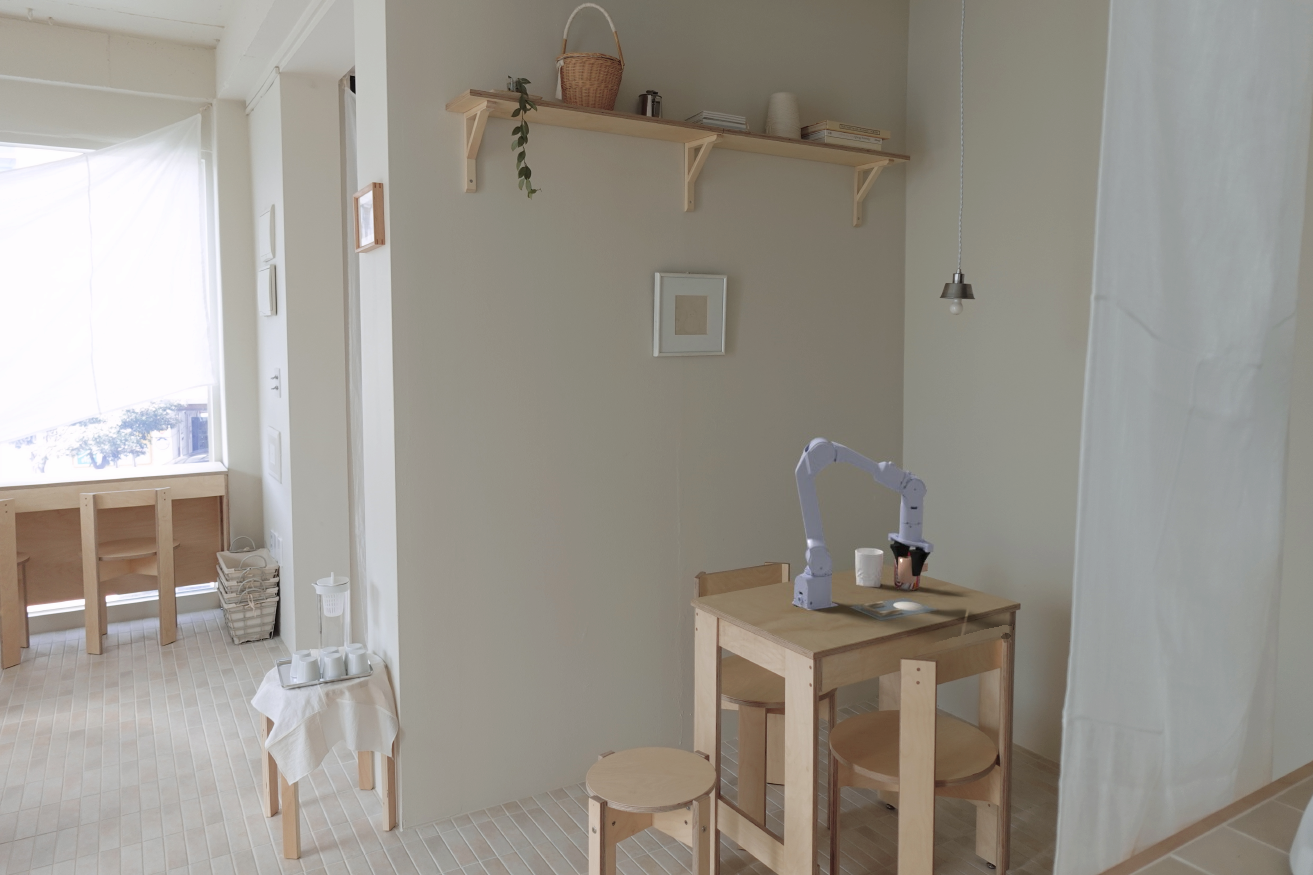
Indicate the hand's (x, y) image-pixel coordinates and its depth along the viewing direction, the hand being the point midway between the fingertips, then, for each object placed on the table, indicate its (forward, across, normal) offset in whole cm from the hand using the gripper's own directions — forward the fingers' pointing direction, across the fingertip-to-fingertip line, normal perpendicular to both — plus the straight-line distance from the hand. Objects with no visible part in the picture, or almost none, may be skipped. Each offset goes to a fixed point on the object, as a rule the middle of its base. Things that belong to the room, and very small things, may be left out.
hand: (909, 573), depth 234 cm
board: (+9, 0, +5) cm, 11 cm away
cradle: (+9, 0, +9) cm, 13 cm away
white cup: (+10, +22, -5) cm, 24 cm away
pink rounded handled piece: (+2, 0, -2) cm, 3 cm away
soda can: (+10, +15, -13) cm, 22 cm away
